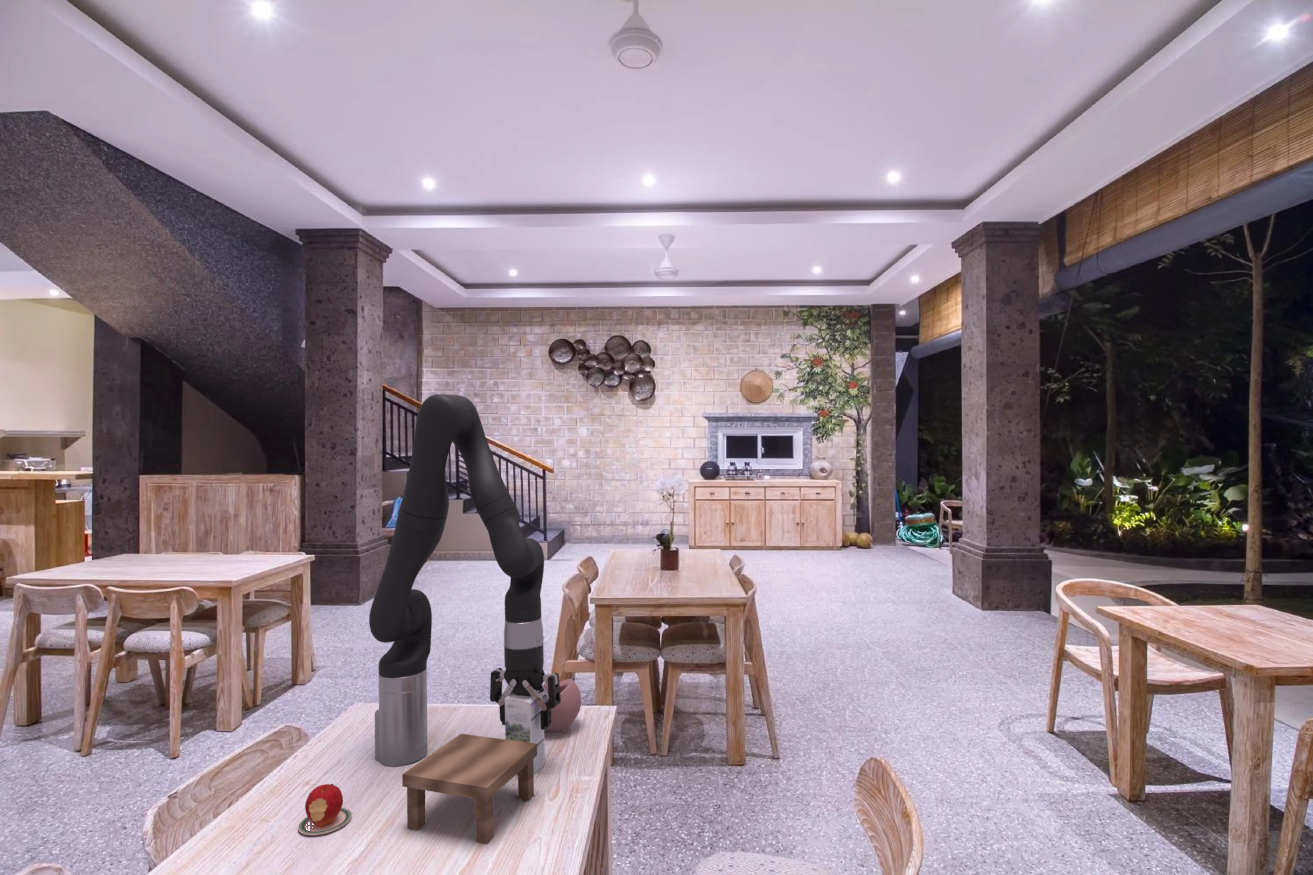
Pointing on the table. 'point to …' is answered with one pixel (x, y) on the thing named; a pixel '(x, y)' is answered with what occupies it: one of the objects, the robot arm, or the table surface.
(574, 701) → the mortar and pestle
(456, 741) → the walnut stool
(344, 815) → the apple
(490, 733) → the table surface
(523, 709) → the syrup box
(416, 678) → the robot arm
